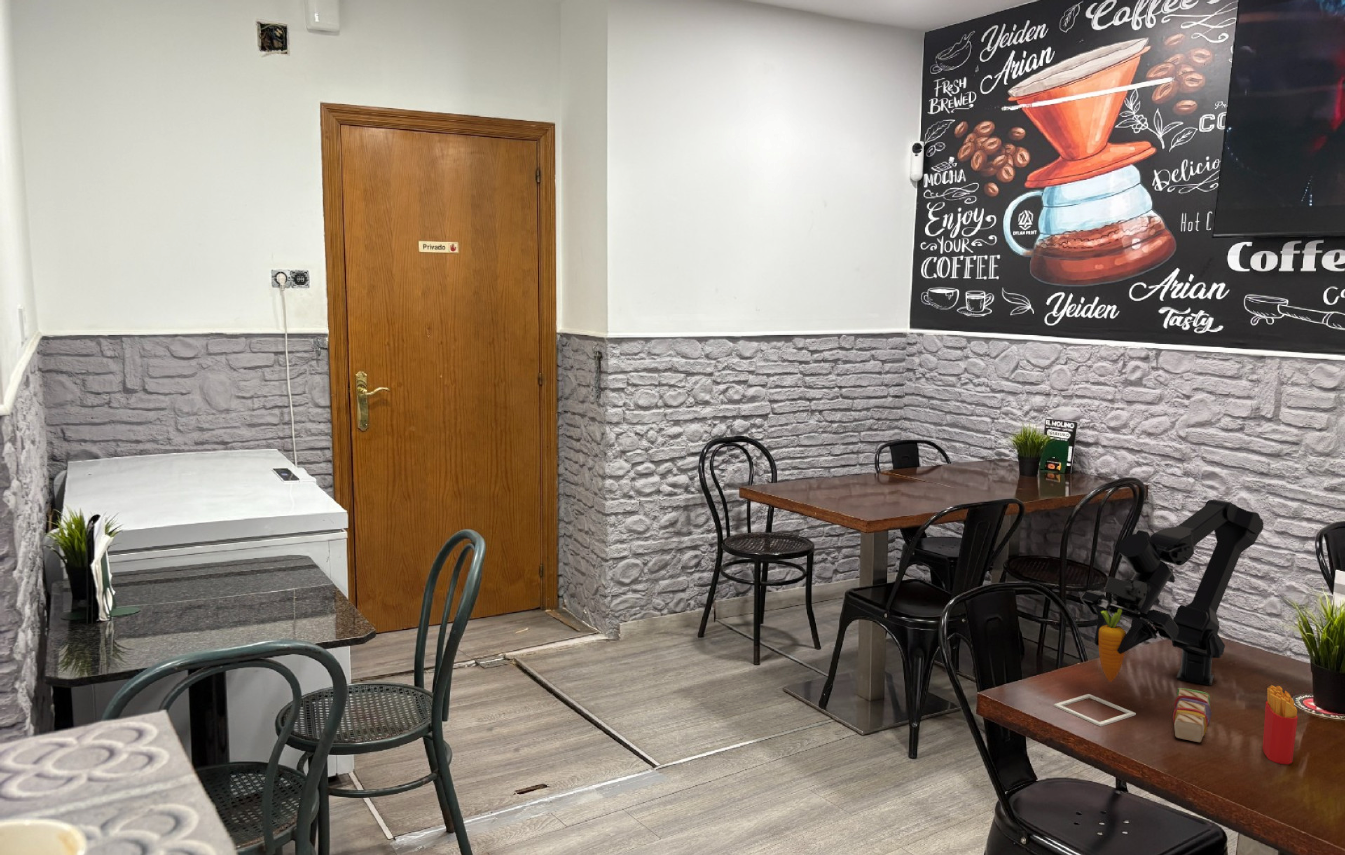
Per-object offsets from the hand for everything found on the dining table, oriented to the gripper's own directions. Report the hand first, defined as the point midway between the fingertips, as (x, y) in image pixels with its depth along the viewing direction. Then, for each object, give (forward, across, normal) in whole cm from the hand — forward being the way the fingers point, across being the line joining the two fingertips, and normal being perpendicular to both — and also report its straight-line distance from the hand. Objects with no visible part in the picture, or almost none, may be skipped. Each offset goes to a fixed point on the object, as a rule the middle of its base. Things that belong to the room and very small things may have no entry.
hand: (1107, 648), depth 190 cm
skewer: (+3, +12, +16) cm, 20 cm away
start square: (+11, 0, +7) cm, 13 cm away
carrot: (+4, 0, +6) cm, 7 cm away
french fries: (+2, +28, +16) cm, 32 cm away
